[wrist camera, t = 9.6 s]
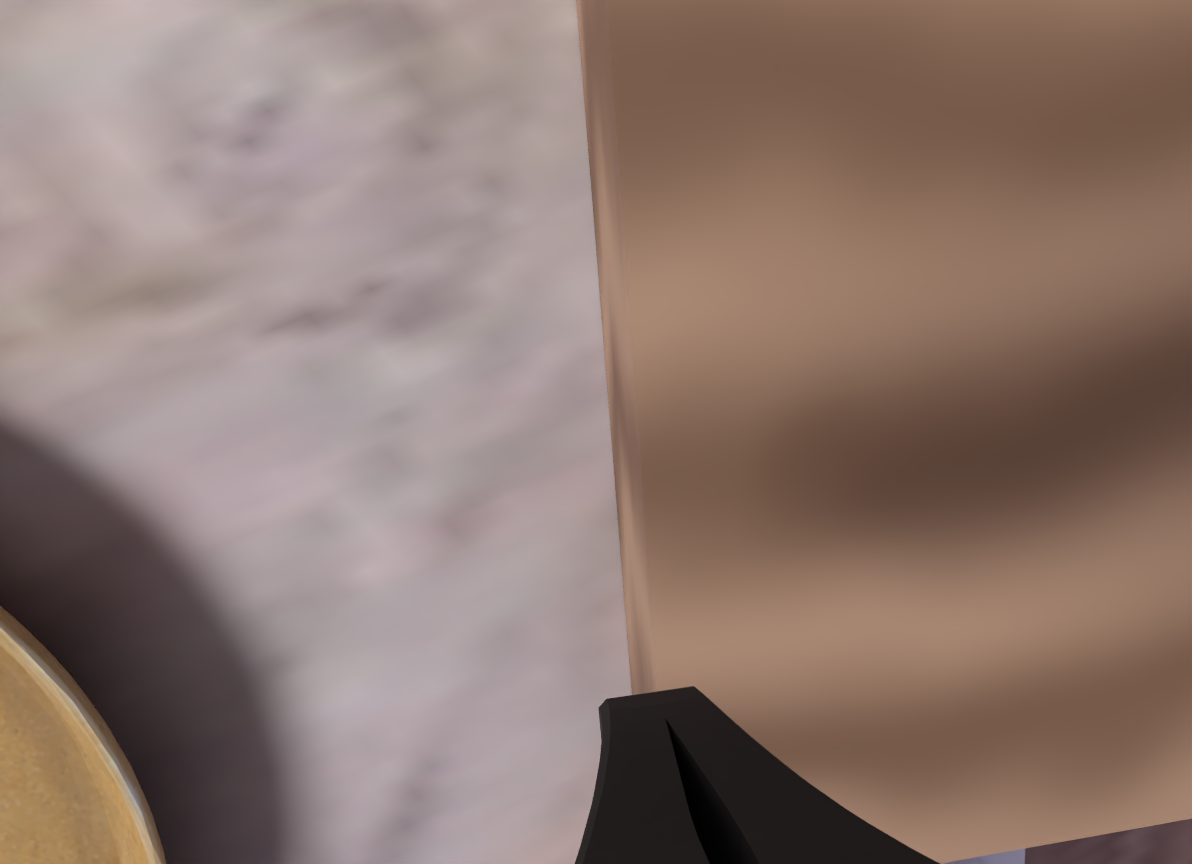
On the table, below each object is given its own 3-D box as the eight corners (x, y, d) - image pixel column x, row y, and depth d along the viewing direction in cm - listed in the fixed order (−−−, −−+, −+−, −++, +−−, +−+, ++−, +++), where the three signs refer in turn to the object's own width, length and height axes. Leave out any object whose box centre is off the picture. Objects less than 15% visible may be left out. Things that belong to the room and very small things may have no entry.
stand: (1115, 716, 24) (1237, 810, 20) (640, 793, 22) (672, 911, 19) (1181, -53, 19) (1360, -125, 15) (574, -21, 17) (601, -92, 14)
